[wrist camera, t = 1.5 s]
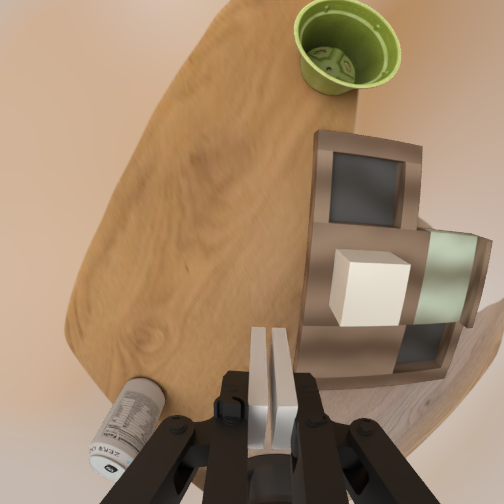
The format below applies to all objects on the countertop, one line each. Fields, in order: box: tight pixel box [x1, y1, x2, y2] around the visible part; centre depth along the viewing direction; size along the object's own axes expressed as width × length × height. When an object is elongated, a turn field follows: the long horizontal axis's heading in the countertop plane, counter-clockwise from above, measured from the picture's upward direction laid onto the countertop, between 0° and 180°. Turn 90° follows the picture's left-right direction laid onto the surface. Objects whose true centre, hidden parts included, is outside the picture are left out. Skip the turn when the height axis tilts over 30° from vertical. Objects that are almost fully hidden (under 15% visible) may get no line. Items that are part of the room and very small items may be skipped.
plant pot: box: [294, 0, 401, 95], centre depth 23 cm, size 9×9×9 cm
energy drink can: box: [89, 378, 165, 482], centre depth 30 cm, size 6×6×15 cm
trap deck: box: [293, 130, 492, 390], centre depth 30 cm, size 29×22×4 cm
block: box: [329, 249, 411, 327], centre depth 28 cm, size 6×6×5 cm
